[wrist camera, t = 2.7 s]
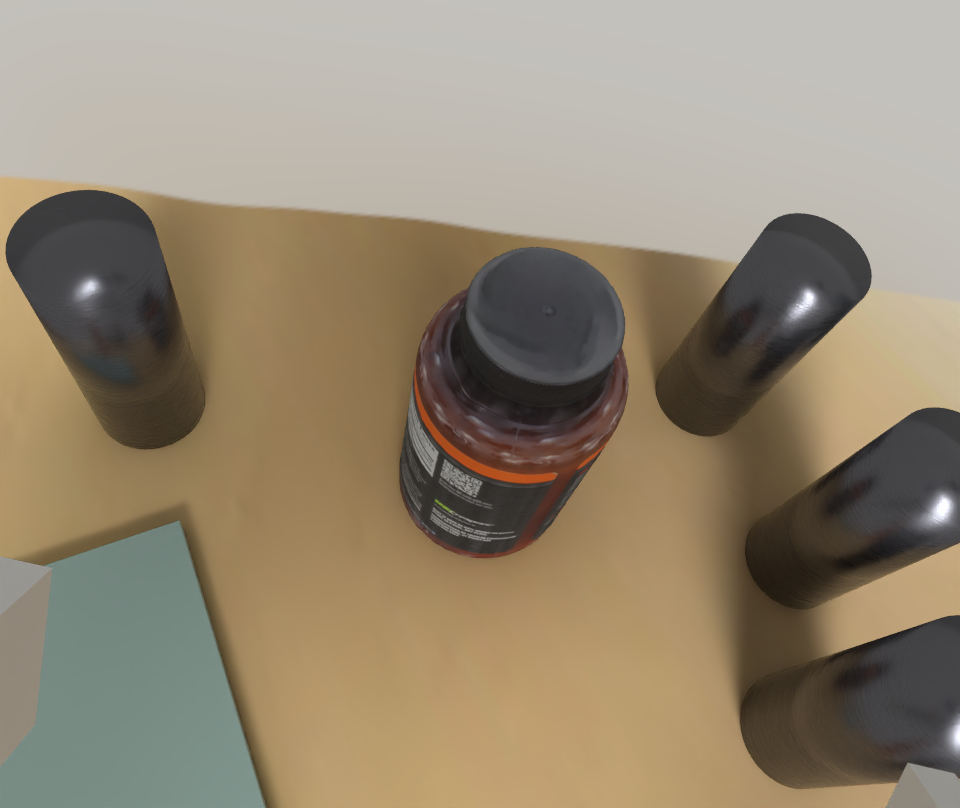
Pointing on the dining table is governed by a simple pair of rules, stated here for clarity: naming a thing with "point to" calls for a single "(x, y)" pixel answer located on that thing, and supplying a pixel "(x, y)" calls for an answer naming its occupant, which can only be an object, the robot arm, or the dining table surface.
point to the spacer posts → (686, 402)
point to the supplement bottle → (512, 401)
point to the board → (131, 690)
